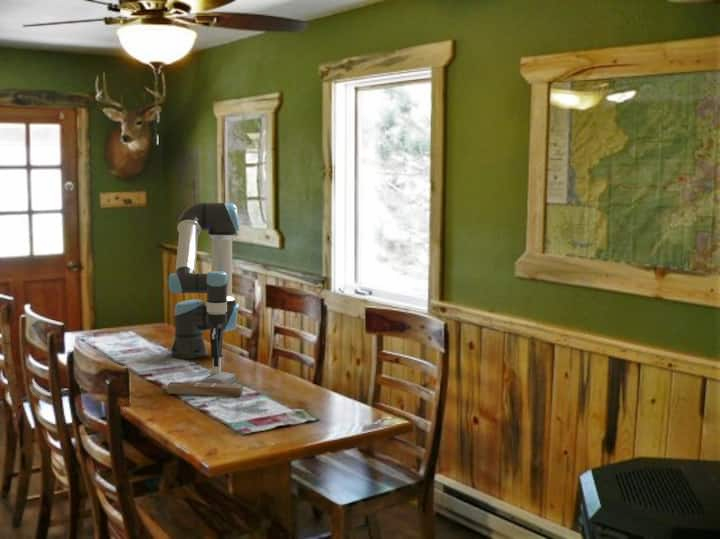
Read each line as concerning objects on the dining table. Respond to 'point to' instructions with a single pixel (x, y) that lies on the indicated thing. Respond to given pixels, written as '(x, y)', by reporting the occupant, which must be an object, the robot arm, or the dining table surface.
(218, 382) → the stone block
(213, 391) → the tan wooden bar
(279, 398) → the dining table surface
